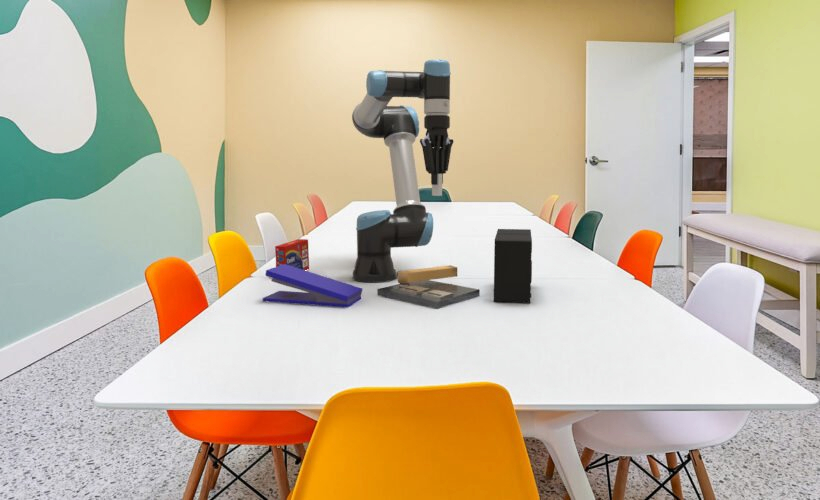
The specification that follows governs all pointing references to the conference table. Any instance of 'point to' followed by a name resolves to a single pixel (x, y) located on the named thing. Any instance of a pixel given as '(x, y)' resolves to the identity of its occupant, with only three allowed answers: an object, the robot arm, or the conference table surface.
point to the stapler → (311, 288)
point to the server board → (429, 293)
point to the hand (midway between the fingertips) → (437, 195)
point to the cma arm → (426, 274)
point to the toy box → (293, 254)
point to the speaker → (513, 265)
